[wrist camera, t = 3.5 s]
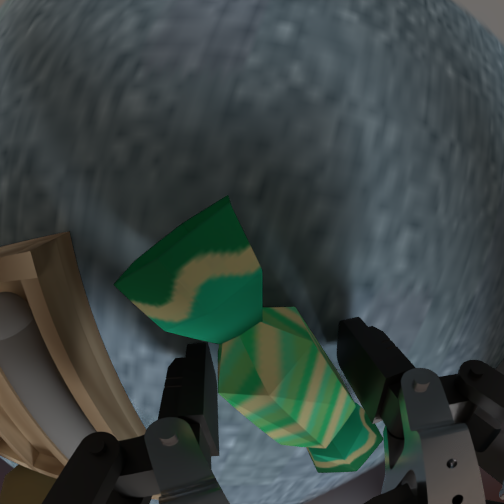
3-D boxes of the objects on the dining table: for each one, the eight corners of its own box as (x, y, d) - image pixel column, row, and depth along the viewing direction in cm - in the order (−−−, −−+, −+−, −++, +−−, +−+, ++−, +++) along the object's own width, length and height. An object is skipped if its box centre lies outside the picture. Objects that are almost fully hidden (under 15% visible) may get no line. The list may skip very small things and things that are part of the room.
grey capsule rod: (33, 279, 8) (-4, 308, 5) (138, 470, 11) (133, 502, 9) (-2, 283, 7) (-37, 308, 5) (104, 466, 11) (97, 495, 9)
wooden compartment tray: (69, 231, 8) (30, 251, 6) (171, 469, 13) (169, 500, 10) (-80, 270, 7) (-101, 283, 5) (6, 434, 12) (-4, 453, 9)
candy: (143, 250, 9) (94, 306, 5) (227, 191, 9) (231, 209, 5) (304, 429, 12) (323, 490, 8) (360, 398, 12) (393, 455, 8)
